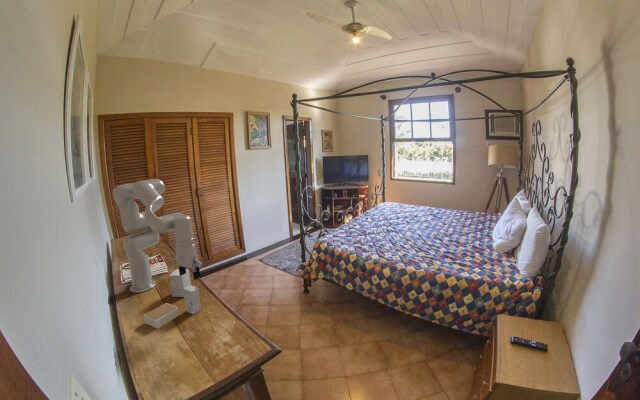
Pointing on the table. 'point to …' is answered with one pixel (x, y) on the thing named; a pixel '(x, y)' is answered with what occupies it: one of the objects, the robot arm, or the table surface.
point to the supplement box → (179, 283)
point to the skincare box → (192, 299)
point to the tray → (161, 315)
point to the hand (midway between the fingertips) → (190, 276)
